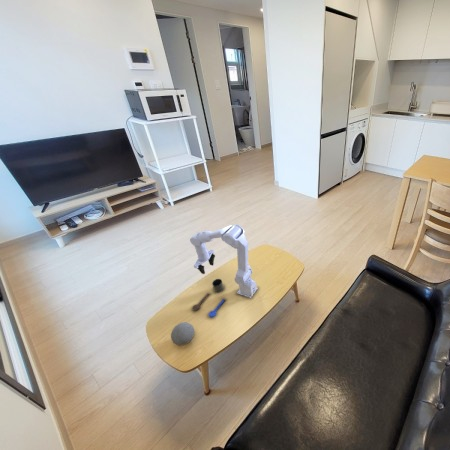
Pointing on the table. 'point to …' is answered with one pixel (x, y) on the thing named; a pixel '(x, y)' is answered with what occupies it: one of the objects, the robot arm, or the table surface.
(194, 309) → the wooden spoon
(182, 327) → the decorative ball
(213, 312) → the blue spoon
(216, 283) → the dark metal cup
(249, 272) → the robot arm
